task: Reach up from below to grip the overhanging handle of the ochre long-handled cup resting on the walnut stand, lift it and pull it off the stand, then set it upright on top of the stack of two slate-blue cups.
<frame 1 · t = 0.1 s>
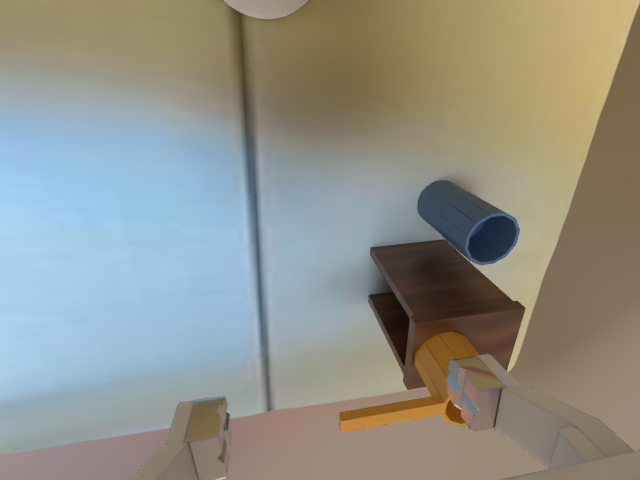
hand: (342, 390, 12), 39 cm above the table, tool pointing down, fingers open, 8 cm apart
stand: (405, 271, 59), on the table
cup: (441, 354, 41), point 19 cm above the table, touching stand
cup stack: (438, 201, 54), on the table
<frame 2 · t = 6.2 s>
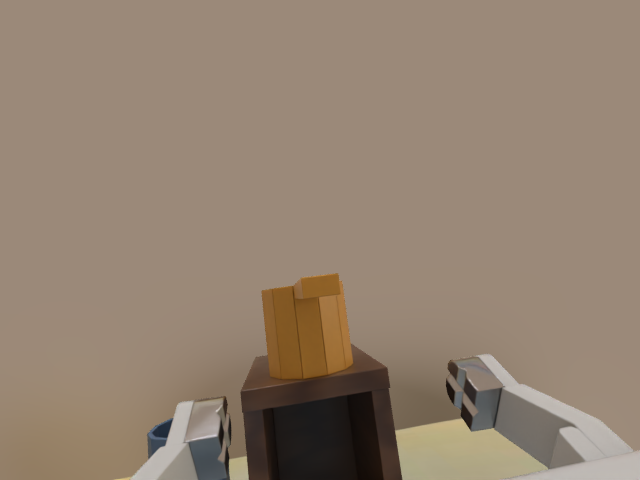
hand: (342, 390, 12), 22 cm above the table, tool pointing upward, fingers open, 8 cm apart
cup: (311, 367, 29), point 19 cm above the table, touching stand
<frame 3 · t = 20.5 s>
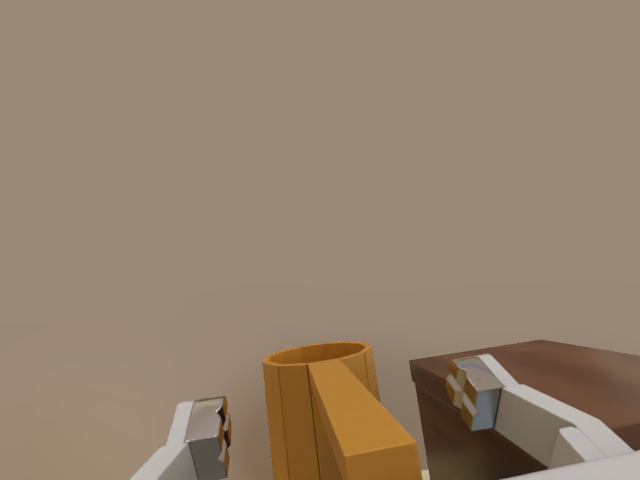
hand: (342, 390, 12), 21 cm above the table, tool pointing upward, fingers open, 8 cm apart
cup: (330, 467, 21), point 14 cm above the table, touching cup stack
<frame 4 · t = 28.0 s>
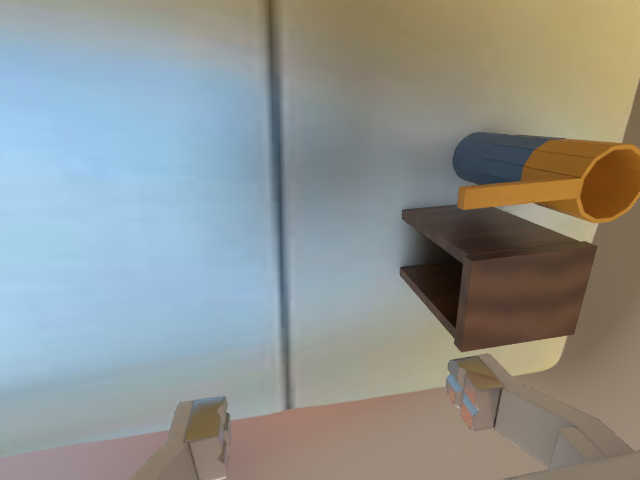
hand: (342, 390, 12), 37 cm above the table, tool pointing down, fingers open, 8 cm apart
stand: (439, 239, 53), on the table
cup: (550, 172, 36), point 14 cm above the table, touching cup stack
cup stack: (475, 157, 49), on the table
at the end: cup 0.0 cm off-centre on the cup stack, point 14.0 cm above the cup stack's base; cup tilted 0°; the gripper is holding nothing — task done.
